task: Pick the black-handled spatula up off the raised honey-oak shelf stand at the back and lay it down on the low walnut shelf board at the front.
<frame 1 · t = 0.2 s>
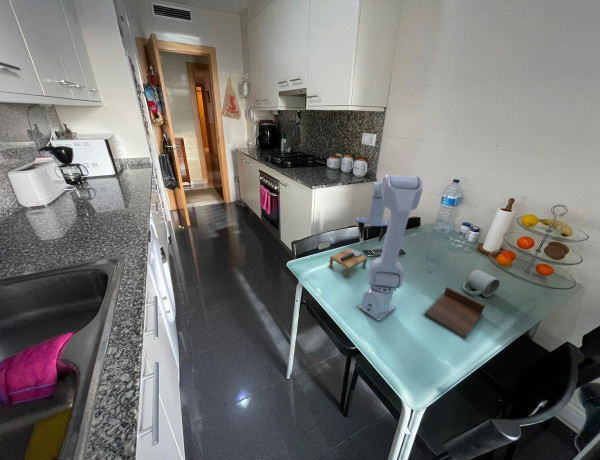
hand: (370, 238, 108), 10 cm above the table, tool pointing down, fingers open, 7 cm apart
ceramic mug: (476, 291, 95), on the table
lower shelf: (453, 314, 82), on the table
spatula: (347, 257, 103), point 5 cm above the table, touching upper shelf
upper shelf: (347, 267, 106), on the table
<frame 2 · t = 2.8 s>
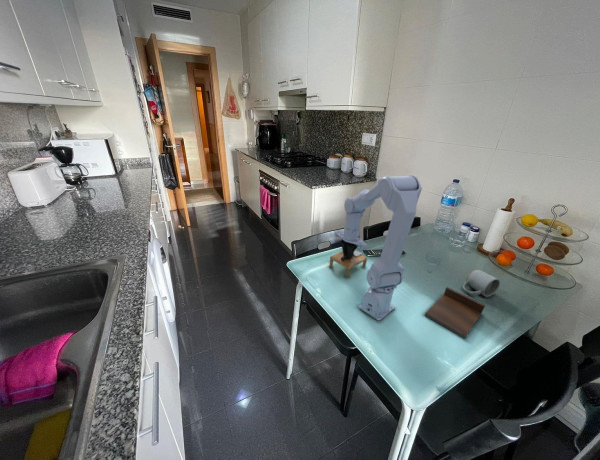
hand: (347, 257, 103), 5 cm above the table, tool pointing down, fingers closed on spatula, 1 cm apart
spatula: (347, 257, 103), point 5 cm above the table, touching gripper, upper shelf
everything else where it was.
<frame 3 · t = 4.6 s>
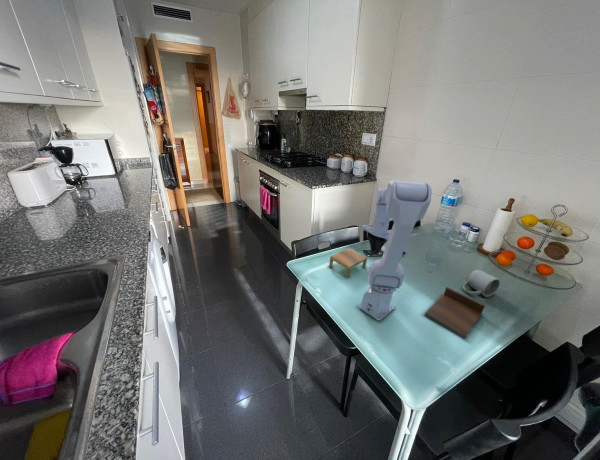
hand: (375, 252, 98), 10 cm above the table, tool pointing down, fingers closed on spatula
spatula: (374, 253, 98), point 10 cm above the table, touching gripper
everything else where it was.
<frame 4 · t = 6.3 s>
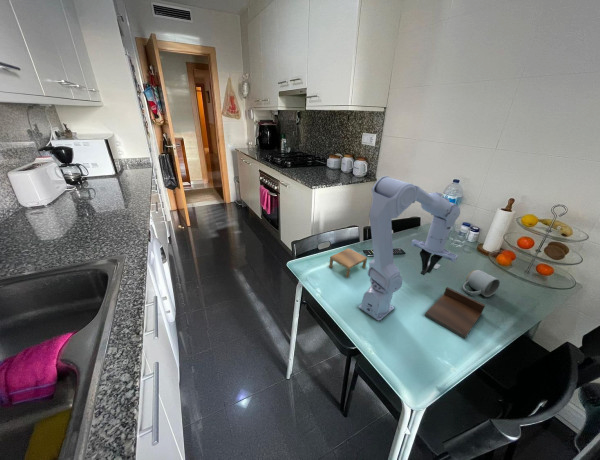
hand: (426, 270, 88), 10 cm above the table, tool pointing down, fingers closed on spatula
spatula: (426, 271, 88), point 10 cm above the table, touching gripper
everything else where it was.
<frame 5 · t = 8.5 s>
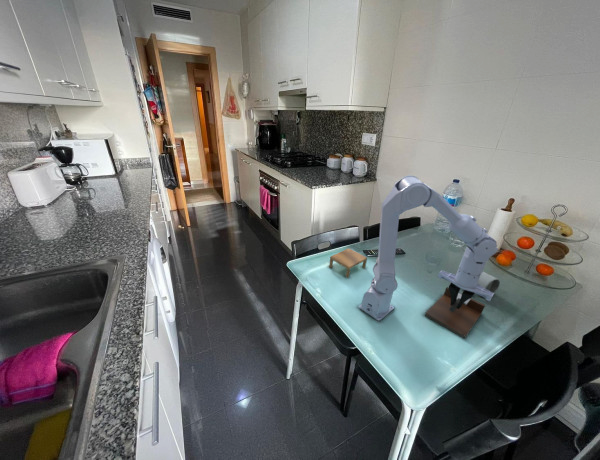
hand: (455, 305, 79), 5 cm above the table, tool pointing down, fingers closed on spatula, 1 cm apart
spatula: (455, 306, 79), point 5 cm above the table, touching gripper
everything else where it was.
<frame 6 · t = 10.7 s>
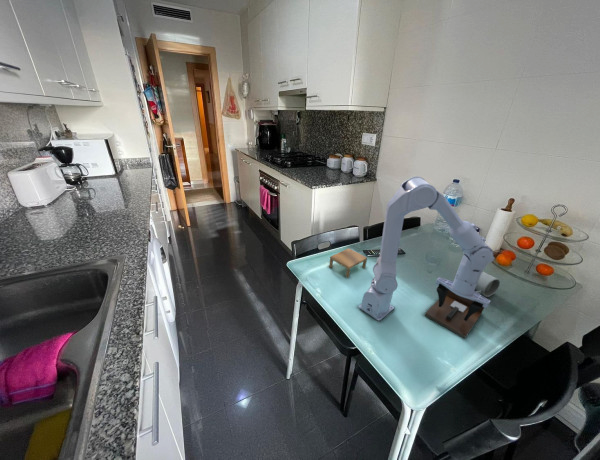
hand: (453, 312, 80), 2 cm above the table, tool pointing down, fingers open, 7 cm apart
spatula: (452, 314, 81), point 1 cm above the table, touching lower shelf
everything else where it was.
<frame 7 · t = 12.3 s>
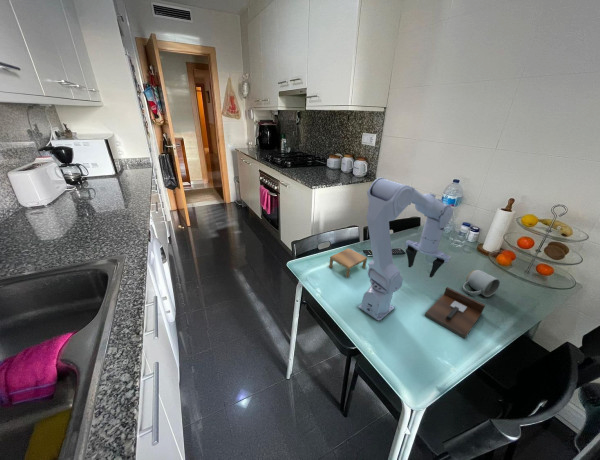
hand: (420, 271, 88), 9 cm above the table, tool pointing down, fingers open, 7 cm apart
nothing on the table moved.
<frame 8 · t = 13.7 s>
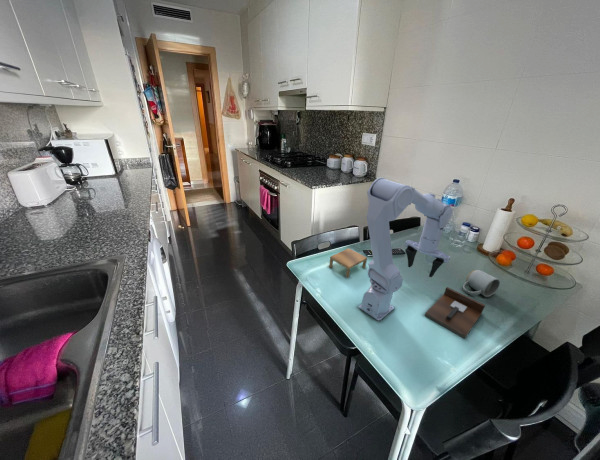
hand: (420, 271, 88), 9 cm above the table, tool pointing down, fingers open, 7 cm apart
nothing on the table moved.
at the end: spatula inside the target area on the lower shelf (1.9 cm from its centre), point 1.2 cm above the lower shelf's base; the gripper is holding nothing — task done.
